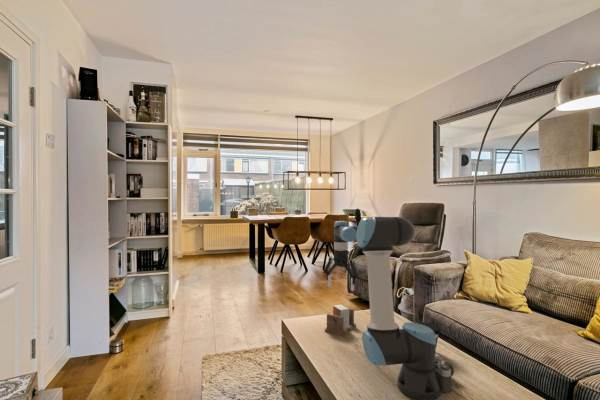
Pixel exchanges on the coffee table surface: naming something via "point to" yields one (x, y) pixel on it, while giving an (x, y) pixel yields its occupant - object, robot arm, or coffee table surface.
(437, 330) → the coffee cup
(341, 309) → the small box
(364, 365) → the coffee table surface
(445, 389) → the camera
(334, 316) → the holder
